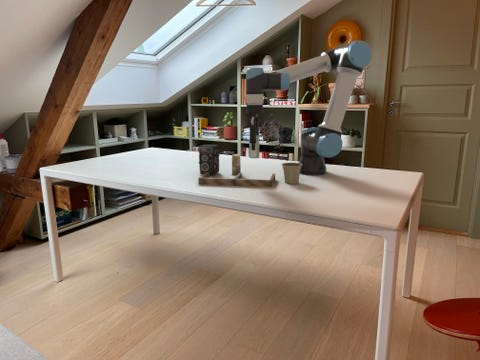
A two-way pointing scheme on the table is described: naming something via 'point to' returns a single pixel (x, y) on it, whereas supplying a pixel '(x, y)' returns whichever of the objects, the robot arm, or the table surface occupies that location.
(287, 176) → the flower pot
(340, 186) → the table surface
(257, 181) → the rack
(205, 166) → the camera
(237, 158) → the beech post
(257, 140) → the sage post
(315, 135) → the robot arm
